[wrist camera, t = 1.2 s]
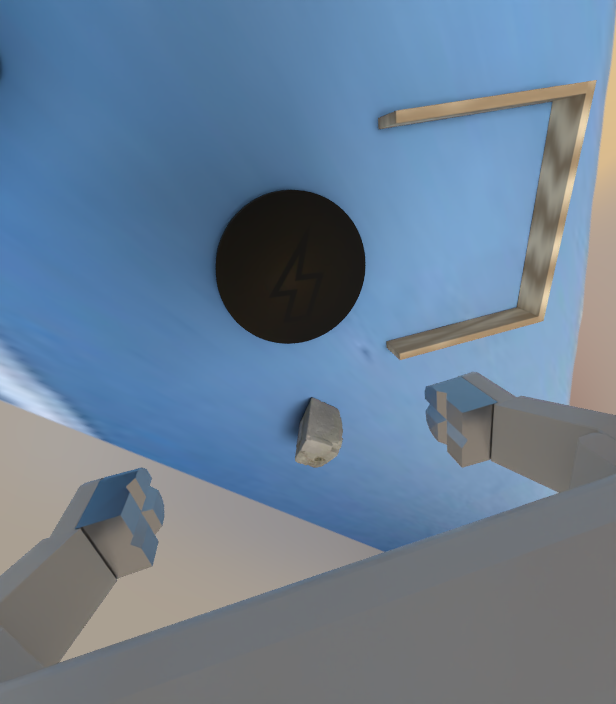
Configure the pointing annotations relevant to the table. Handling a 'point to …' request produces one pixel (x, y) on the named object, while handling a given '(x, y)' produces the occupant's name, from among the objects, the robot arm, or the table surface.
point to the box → (547, 215)
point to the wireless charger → (290, 266)
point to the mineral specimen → (319, 434)
